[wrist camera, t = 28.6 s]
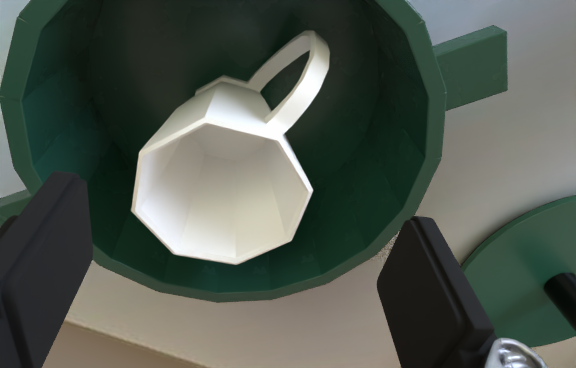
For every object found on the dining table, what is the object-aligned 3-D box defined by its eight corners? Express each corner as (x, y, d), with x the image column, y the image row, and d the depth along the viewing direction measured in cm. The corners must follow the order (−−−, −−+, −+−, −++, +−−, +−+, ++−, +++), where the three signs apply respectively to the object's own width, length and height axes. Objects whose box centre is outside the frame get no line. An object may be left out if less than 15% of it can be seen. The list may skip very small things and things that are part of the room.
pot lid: (434, 229, 29) (470, 291, 24) (689, 153, 27) (783, 204, 22) (454, 356, 38) (483, 418, 34) (643, 307, 36) (701, 366, 32)
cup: (139, 123, 22) (92, 216, 15) (251, -36, 18) (253, -5, 11) (243, 187, 25) (241, 288, 18) (358, 62, 21) (409, 132, 14)
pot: (-48, 11, 18) (-196, 61, 12) (415, -183, 16) (520, -243, 10) (138, 250, 28) (107, 348, 21) (451, 150, 25) (517, 228, 19)
